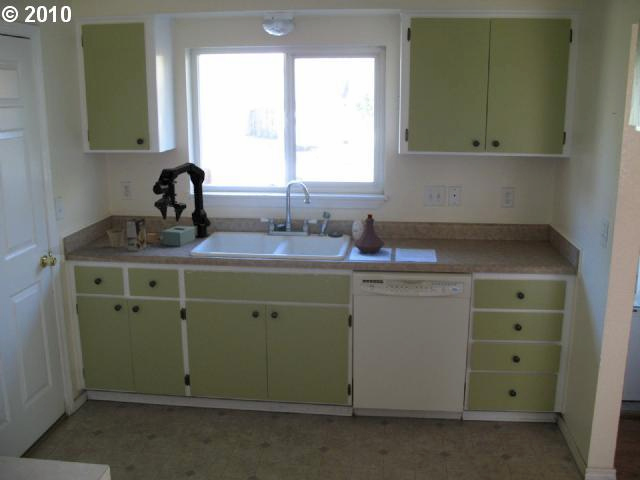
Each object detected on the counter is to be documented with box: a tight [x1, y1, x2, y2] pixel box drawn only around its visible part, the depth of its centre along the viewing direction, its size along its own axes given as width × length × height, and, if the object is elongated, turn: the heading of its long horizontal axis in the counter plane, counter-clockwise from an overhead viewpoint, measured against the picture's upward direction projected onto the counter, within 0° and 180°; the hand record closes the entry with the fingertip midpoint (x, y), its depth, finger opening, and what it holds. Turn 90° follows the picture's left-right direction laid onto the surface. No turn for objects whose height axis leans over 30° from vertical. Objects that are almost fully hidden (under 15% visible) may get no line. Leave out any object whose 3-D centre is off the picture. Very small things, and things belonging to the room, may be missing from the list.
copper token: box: [145, 232, 157, 244], centre depth 366 cm, size 2×5×5 cm, turn 70°
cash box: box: [161, 225, 196, 248], centre depth 365 cm, size 16×11×8 cm
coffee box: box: [126, 217, 147, 252], centre depth 349 cm, size 9×6×16 cm
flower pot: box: [106, 228, 126, 249], centre depth 355 cm, size 9×9×9 cm
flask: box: [353, 213, 385, 254], centre depth 345 cm, size 16×16×20 cm
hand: (171, 220), depth 355 cm, fingers open, 9 cm apart
